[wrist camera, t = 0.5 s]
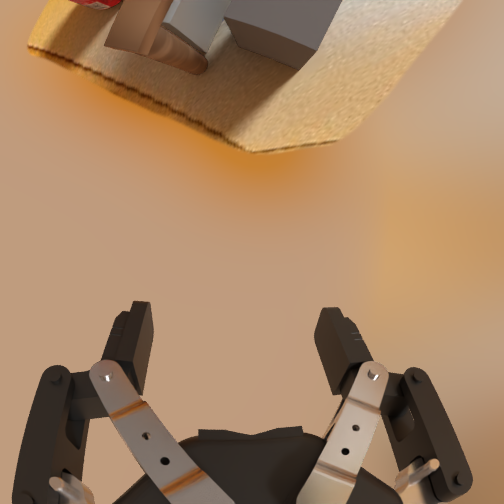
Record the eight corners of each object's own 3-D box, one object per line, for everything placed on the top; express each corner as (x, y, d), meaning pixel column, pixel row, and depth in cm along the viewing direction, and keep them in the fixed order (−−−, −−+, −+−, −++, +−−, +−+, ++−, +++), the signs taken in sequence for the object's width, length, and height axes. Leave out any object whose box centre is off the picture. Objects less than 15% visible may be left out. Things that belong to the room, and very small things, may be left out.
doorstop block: (257, 11, 24) (251, -34, 13) (316, 34, 25) (342, 0, 14) (238, 47, 26) (223, 16, 15) (299, 70, 27) (317, 50, 16)
